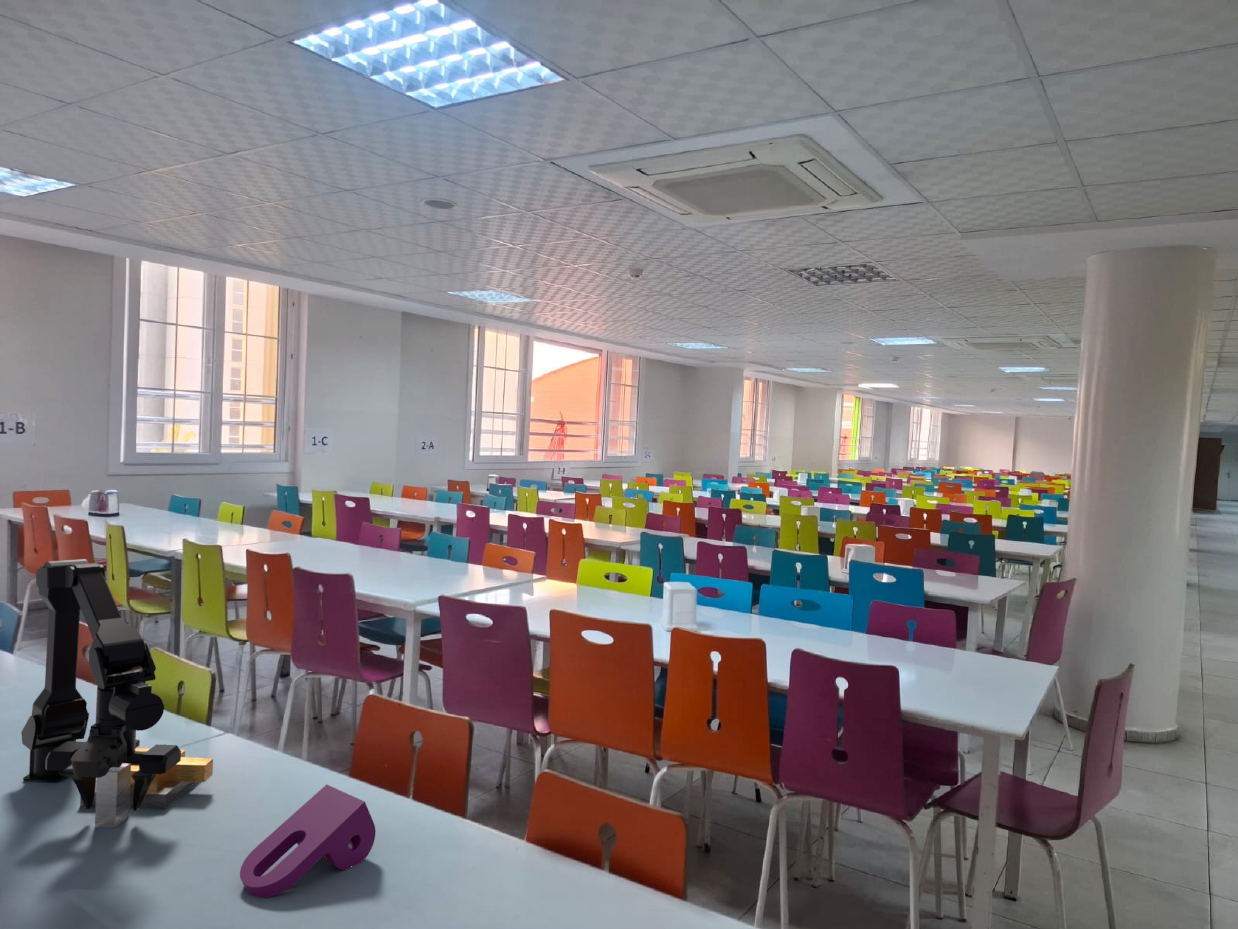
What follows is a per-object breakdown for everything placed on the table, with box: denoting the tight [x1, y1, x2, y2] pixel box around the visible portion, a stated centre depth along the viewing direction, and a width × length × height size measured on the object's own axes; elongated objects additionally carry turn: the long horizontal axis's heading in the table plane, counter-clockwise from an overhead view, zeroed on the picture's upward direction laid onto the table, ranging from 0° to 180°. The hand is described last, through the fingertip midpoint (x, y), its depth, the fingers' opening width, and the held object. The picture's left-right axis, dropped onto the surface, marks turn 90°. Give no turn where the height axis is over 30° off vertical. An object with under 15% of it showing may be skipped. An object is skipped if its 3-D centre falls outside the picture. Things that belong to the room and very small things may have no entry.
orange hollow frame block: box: [79, 747, 214, 810], centre depth 146 cm, size 18×14×6 cm
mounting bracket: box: [239, 784, 376, 898], centre depth 123 cm, size 10×8×18 cm
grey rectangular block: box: [94, 763, 131, 828], centre depth 134 cm, size 3×4×9 cm
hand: (112, 809), depth 134 cm, fingers open, 7 cm apart
